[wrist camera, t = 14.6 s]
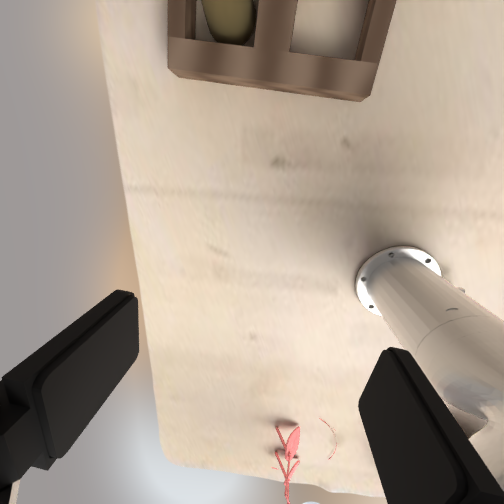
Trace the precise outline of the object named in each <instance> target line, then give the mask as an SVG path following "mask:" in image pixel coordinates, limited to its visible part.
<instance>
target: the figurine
mask: <svg viewBox="0 0 504 504" xmlns="http://www.w3.org/2000/svg"><path fill="white" fill-rule="evenodd" d="M319 419H320V418H319ZM321 420H322V419H321ZM322 421H323V420H322ZM325 423H326V422H325ZM326 424H327V423H326ZM327 425H328V424H327ZM328 426H329V425H328ZM329 427H330V426H329ZM333 429H334V428H333ZM276 431H277V433H278V435H279V437H280V439H281V442H282V444H283V446H284V448H285V459H286V460H287V461H288V469H287V475H286V473H285V470H284V468H283V465H282V463H281V461H280V458H279V456H278V453H277V452H275V455H276V457H277V459H278V462H279V464H280V467H281V469H282V472H283V474H284V477H285V481H284V485H286V486H285V497H286V499H287V504H290V502H289V481H290V478H291V477H292V475H293V473H294V472H295V470H296V468H297V466H298V464H299V462H300V461H299V460H298V461H297V462H296V463H295V464H294V466H293V467H292V469H291V470H290V472H289V466H290V460H291V459H292V458H293V456H294V455H295V453H296V451H297V449H298V444H299V437H300V427H299V426H298V427H297V428H296V429H295V430H294V431H293V432H292V433H291V434H290V436H289V438H288V440H287V443H286V444H285V442H284V440H283V438H282V436H281V433H280V431H279V429H278V427H277V428H276ZM332 431H333V430H332ZM335 437H336V436H335ZM336 446H337V443H336ZM335 450H336V449H335ZM334 453H335V452H334ZM334 453H333V454H334ZM332 456H333V455H332ZM332 456H331V457H332ZM331 457H330V458H331ZM330 458H329V459H330ZM271 468H273V467H271ZM274 469H277V468H274Z"/></svg>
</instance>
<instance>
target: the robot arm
mask: <svg viewBox="0 0 504 504" xmlns="http://www.w3.org/2000/svg"><path fill="white" fill-rule="evenodd" d="M389 253H390V254H389ZM355 288H356V293H357V296H358V298H359V300H360V302H361V303H362V304H363V306H364V307H365V308H366V309H367V310H369V311H371V312H372V313H374V314H377V315H380V316H382V317H383V319H384V320H385V322H386V323H387V325H388V326H389V328H390V329H391V330H392V332H393V333H394V335H395V336H396V338H397V339H398V341H399V342H400V344H401V345H402V347H403V348H404V350H403V349H399V348H394V347H389V348H388V349H387V350H383V351H382V353H381V355H380V357H379V359H378V361H377V363H376V365H375V368H374V370H373V372H372V374H371V376H370V378H369V380H368V382H367V384H366V386H365V389H364V391H363V393H362V395H361V397H360V399H359V404H358V407H359V412H360V416H361V419H362V422H363V425H364V429H365V432H366V435H367V438H368V441H369V445H370V448H371V451H372V454H373V458H374V461H375V464H376V467H377V471H378V474H379V477H380V480H381V483H382V487H383V490H384V493H385V496H386V499H387V503H388V504H504V321H503V320H501V319H500V318H499V317H497V316H496V315H494V314H493V313H492V312H490V311H489V310H487V309H486V308H485V307H483V306H482V305H480V304H479V303H478V302H476V301H475V300H473V299H472V298H471V297H469V296H468V295H466V294H465V290H464V289H463V288H459V287H455V286H454V285H452V284H451V283H450V282H448V281H447V280H445V279H444V278H443V277H442V276H441V270H440V267H439V265H438V263H437V262H436V261H435V259H434V258H433V257H432V256H430V255H429V254H428V253H426V252H424V251H423V250H420V249H418V248H415V247H409V246H397V247H391V248H388V249H385V250H382V251H380V252H378V253H376V254H375V255H373V256H372V257H371V258H369V259H368V260H367V261H366V262H365V263H364V264H363V266H362V267H361V269H360V270H359V272H358V275H357V277H356V283H355ZM138 353H139V327H138V299H137V298H136V297H135V296H134V293H132V292H128V291H123V290H115V291H114V292H113V293H111V294H110V295H109V296H107V297H106V298H105V299H103V300H102V301H101V302H99V303H98V304H97V305H96V306H94V307H93V308H92V309H90V310H89V311H88V312H86V313H85V314H84V315H83V316H81V317H80V318H79V319H77V320H76V321H75V322H73V323H72V324H71V325H69V326H68V327H67V328H66V329H64V330H63V331H62V332H60V333H59V334H58V335H56V336H55V337H54V338H52V339H51V340H50V341H48V342H47V343H46V344H45V345H43V346H42V347H41V348H39V349H38V350H37V351H36V352H34V353H33V354H32V355H30V356H29V357H28V358H26V359H25V360H24V361H22V362H21V363H20V364H18V365H17V366H16V367H14V368H13V369H12V370H11V371H9V372H8V373H7V374H5V375H4V376H3V377H2V380H1V381H0V504H16V501H17V495H18V489H19V483H20V478H21V477H22V476H23V475H24V474H25V472H26V471H27V470H28V469H29V468H30V467H31V466H32V467H37V468H40V469H44V470H49V468H50V467H51V466H52V464H53V463H54V462H55V460H56V459H57V458H62V457H63V456H64V455H65V454H66V453H67V452H68V450H69V449H70V448H71V446H72V445H73V444H74V442H75V441H76V440H77V438H78V437H79V436H80V434H81V433H82V432H83V430H84V429H85V428H86V426H87V425H88V424H89V422H90V421H91V419H92V418H93V417H94V415H95V414H96V413H97V411H98V410H99V409H100V407H101V406H102V405H103V403H104V402H105V401H106V399H107V398H108V397H109V395H110V394H111V393H112V391H113V390H114V388H115V387H116V386H117V384H118V383H119V382H120V380H121V379H122V378H123V376H124V375H125V374H126V372H127V371H128V370H129V368H130V367H131V366H132V364H133V363H134V362H135V360H136V358H137V356H138ZM440 397H441V398H442V399H444V400H445V401H446V402H448V403H449V404H451V405H453V406H455V407H457V408H459V409H461V410H463V411H465V412H467V413H470V414H472V415H474V416H477V417H480V418H482V419H485V420H488V422H487V424H486V425H485V427H484V428H482V429H481V430H480V431H478V432H477V433H475V434H474V435H472V436H471V438H469V439H468V438H467V436H466V435H465V433H464V432H463V430H462V429H461V427H460V426H459V424H458V423H457V421H456V420H455V418H454V417H453V415H452V414H451V412H450V411H449V409H448V408H447V406H446V405H445V404H444V402H443V401H442V399H441V398H440Z"/></svg>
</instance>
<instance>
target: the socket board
mask: <svg viewBox="0 0 504 504" xmlns="http://www.w3.org/2000/svg"><path fill="white" fill-rule="evenodd" d="M196 1H197V0H168V69H169V70H171V71H172V72H173V73H174V74H175V75H177V76H178V77H179V78H186V79H194V80H201V81H209V82H216V83H223V84H231V85H238V86H245V87H253V88H260V89H267V90H275V91H282V92H290V93H297V94H304V95H312V96H319V97H326V98H334V99H341V100H348V101H356V102H361V101H363V100H364V99H365V98H367V97H368V96H370V94H371V90H372V87H373V83H374V80H375V76H376V72H377V69H378V65H379V61H380V58H381V54H382V51H383V47H384V43H385V40H386V36H387V33H388V29H389V25H390V22H391V18H392V15H393V11H394V7H395V4H396V0H369V2H368V6H367V11H366V15H365V19H364V23H363V27H362V31H361V35H360V39H359V43H358V47H357V52H356V56H355V60H348V59H340V58H332V57H324V56H317V55H309V54H301V53H293V52H290V46H291V40H292V33H293V27H294V21H295V14H296V8H297V2H298V0H259V5H258V14H257V23H256V32H255V41H254V47H247V46H239V45H231V44H223V43H215V42H208V41H200V40H195V28H196Z"/></svg>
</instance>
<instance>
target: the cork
mask: <svg viewBox="0 0 504 504" xmlns="http://www.w3.org/2000/svg"><path fill="white" fill-rule="evenodd" d="M201 1H202V5H203V9H204V12H205V16H206V20H207V24H208V27H209V30H210V33H211V35H212V36H213V38H214V40H215V41H216V42H217V43H223V44H231V45H239V46H241V45H243V44H244V43H245V42H246V41H247V40H248V39H249V38H250V36H251V34H252V33H253V31H254V27H255V23H256V9H255V5H254V1H253V0H201Z"/></svg>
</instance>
